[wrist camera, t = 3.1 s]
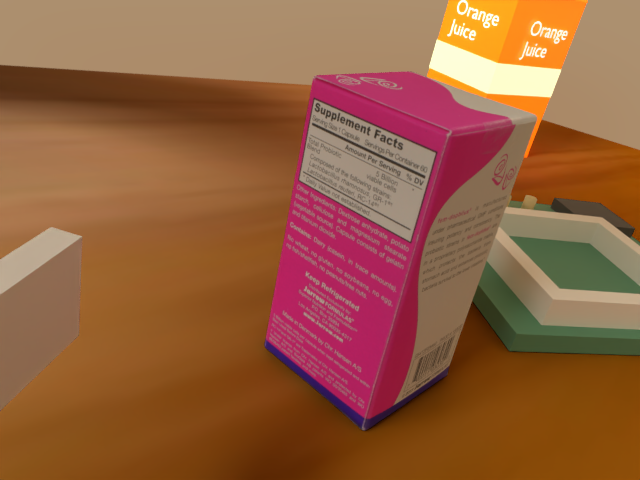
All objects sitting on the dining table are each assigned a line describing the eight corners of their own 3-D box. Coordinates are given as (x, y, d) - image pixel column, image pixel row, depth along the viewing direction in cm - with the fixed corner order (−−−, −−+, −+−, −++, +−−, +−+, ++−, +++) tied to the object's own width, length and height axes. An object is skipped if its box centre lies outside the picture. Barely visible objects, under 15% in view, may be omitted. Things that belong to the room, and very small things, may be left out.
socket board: (399, 201, 42) (409, 168, 41) (591, 221, 47) (605, 192, 45) (509, 351, 28) (528, 307, 27) (765, 359, 33) (791, 322, 32)
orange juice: (410, 128, 60) (476, -102, 50) (472, 128, 64) (542, -81, 55) (466, 159, 54) (551, -91, 45) (529, 157, 59) (617, -69, 50)
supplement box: (347, 306, 29) (413, 66, 24) (448, 377, 26) (551, 118, 21) (255, 345, 25) (311, 67, 20) (362, 436, 22) (462, 132, 17)
